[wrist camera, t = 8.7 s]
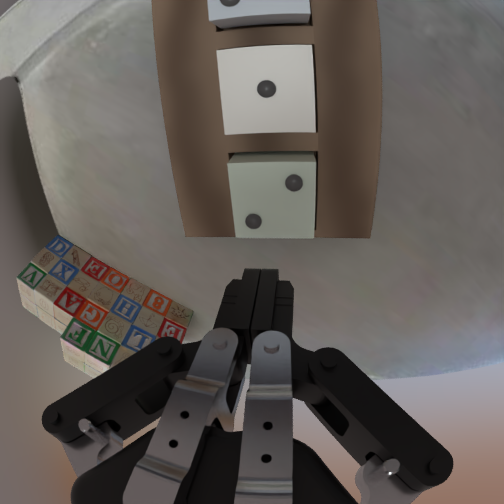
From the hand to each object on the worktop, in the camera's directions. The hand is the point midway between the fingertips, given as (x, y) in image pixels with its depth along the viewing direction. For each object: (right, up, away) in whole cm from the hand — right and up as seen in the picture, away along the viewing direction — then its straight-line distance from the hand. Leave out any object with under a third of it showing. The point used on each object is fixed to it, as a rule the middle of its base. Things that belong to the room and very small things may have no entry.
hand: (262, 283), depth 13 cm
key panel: (+1, +14, +7) cm, 16 cm away
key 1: (+1, +14, +5) cm, 15 cm away
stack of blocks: (-18, -3, +22) cm, 29 cm away
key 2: (+1, +7, +10) cm, 12 cm away
